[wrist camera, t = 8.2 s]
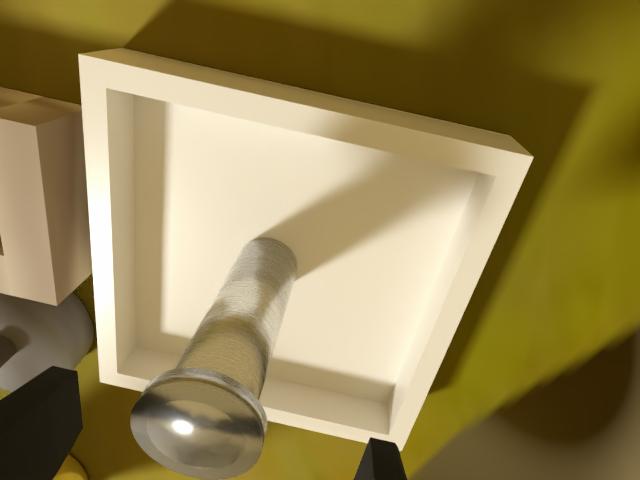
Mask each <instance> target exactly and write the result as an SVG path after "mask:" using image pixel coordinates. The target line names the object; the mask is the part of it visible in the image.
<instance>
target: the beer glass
mask: <svg viewBox="0 0 640 480" xmlns="http://www.w3.org/2000/svg"><path fill="white" fill-rule="evenodd" d="M53 480H88V477H87V474H86V472H85V470H84V468H83V467H82V466H81V464H80V463H79V462H78V461H77V460H76V459H75V458H74V457H72V456H71V455H70V454H68V455H67V457H66V459H65V461H64V462H63V464H62V466H61V468H60V469H59V471H58V472H57V474H56V475H55V477H54V478H53Z"/></svg>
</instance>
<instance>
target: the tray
mask: <svg viewBox="0 0 640 480" xmlns="http://www.w3.org/2000/svg"><path fill="white" fill-rule="evenodd" d="M78 58H79V73H80V88H81V103H82V119H83V134H84V149H85V164H86V179H87V194H88V209H89V224H90V239H91V254H92V270H93V285H94V300H95V315H96V330H97V345H98V360H99V375H100V382H102V383H106V384H110V385H115V386H119V387H123V388H128V389H132V390H137V391H141V392H143V391H144V389H145V388H146V386H147V385H148V384H149V382H150V381H151V380H152V379H154V378H155V377H156V376H158V375H160V374H161V373H164V372H166V371H169V370H173V369H175V368H176V366H177V364H178V363H179V361H180V359H181V357H182V355H183V354H184V352H185V350H186V348H187V346H188V345H189V343H190V341H191V339H192V337H193V336H194V334H195V332H196V330H197V328H198V327H199V325H200V323H201V321H202V319H203V318H204V316H205V314H206V312H207V310H208V309H209V307H210V305H211V303H212V301H213V300H214V298H215V296H216V294H217V292H218V291H219V289H220V287H221V285H222V283H223V282H224V280H225V278H226V276H227V274H228V273H229V271H230V269H231V267H232V265H233V264H234V262H235V260H236V258H237V256H238V255H239V253H240V251H241V249H242V248H243V246H244V245H245V244H247V243H248V242H249V241H251V240H254V239H257V238H272V239H276V240H278V241H280V242H282V243H284V244H285V245H287V246H288V247H289V248H290V249H291V250H292V252H293V253H294V255H295V257H296V260H297V266H298V268H297V273H296V277H295V280H294V283H293V287H292V290H291V294H290V297H289V300H288V304H287V307H286V311H285V314H284V317H283V321H282V324H281V328H280V331H279V334H278V338H277V341H276V345H275V348H274V351H273V355H272V358H271V361H270V365H269V368H268V372H267V375H266V378H265V382H264V385H263V389H262V392H261V395H260V399H259V402H260V403H261V405H262V406H263V409H264V411H265V413H266V417H267V420H268V421H272V422H276V423H281V424H285V425H289V426H294V427H298V428H303V429H307V430H311V431H316V432H320V433H324V434H329V435H333V436H338V437H342V438H346V439H351V440H355V441H359V442H364V443H368V441H369V439H370V437H372V438H376V439H380V440H385V441H389V442H394V443H396V445H397V446H398V449H399V451H402V449H403V447H404V445H405V443H406V440H407V438H408V436H409V434H410V431H411V429H412V427H413V425H414V423H415V420H416V418H417V416H418V414H419V411H420V409H421V407H422V405H423V402H424V400H425V398H426V396H427V394H428V391H429V389H430V387H431V385H432V382H433V380H434V378H435V376H436V374H437V371H438V369H439V367H440V365H441V362H442V360H443V358H444V356H445V354H446V351H447V349H448V347H449V345H450V342H451V340H452V338H453V336H454V334H455V331H456V329H457V327H458V325H459V322H460V320H461V318H462V316H463V313H464V311H465V309H466V307H467V305H468V302H469V300H470V298H471V296H472V293H473V291H474V289H475V287H476V285H477V282H478V280H479V278H480V276H481V273H482V271H483V269H484V267H485V265H486V262H487V260H488V258H489V256H490V253H491V251H492V249H493V247H494V244H495V242H496V240H497V238H498V236H499V233H500V231H501V229H502V227H503V224H504V222H505V220H506V218H507V216H508V213H509V211H510V209H511V207H512V204H513V202H514V200H515V198H516V196H517V193H518V191H519V189H520V187H521V184H522V182H523V180H524V178H525V175H526V173H527V171H528V169H529V167H530V164H531V162H532V160H533V158H534V157H533V156H532V155H531V154H530V153H529V152H528V151H527V150H526V149H525V148H523V147H522V146H521V145H520V144H519V143H518V142H517V141H516V140H515V139H514V138H512V137H511V136H510V135H506V134H502V133H497V132H493V131H488V130H484V129H480V128H475V127H471V126H466V125H462V124H458V123H453V122H449V121H444V120H440V119H435V118H431V117H427V116H422V115H418V114H413V113H409V112H404V111H400V110H396V109H391V108H387V107H382V106H378V105H373V104H369V103H365V102H360V101H356V100H351V99H347V98H342V97H338V96H334V95H329V94H325V93H320V92H316V91H311V90H307V89H303V88H298V87H294V86H289V85H285V84H280V83H276V82H272V81H267V80H263V79H258V78H254V77H250V76H245V75H241V74H236V73H232V72H227V71H223V70H219V69H214V68H210V67H205V66H201V65H196V64H192V63H188V62H183V61H179V60H174V59H170V58H165V57H161V56H157V55H152V54H148V53H143V52H139V51H134V50H130V49H126V48H116V49H109V50H102V51H95V52H88V53H81V54H78Z"/></svg>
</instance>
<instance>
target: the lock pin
mask: <svg viewBox="0 0 640 480" xmlns="http://www.w3.org/2000/svg"><path fill="white" fill-rule="evenodd" d="M297 268H298V266H297V260H296V257H295V255H294V253H293V252H292V250H291V249H290V248H289V247H288V246H287V245H285V244H284V243H282V242H280V241H278V240H276V239H272V238H257V239H254V240H251V241H249V242H248V243H247V244H245V245H244V246H243V248H242V249H241V251H240V253H239V255H238V256H237V258H236V260H235V262H234V264H233V265H232V267H231V269H230V271H229V273H228V274H227V276H226V278H225V280H224V282H223V283H222V285H221V287H220V289H219V291H218V292H217V294H216V296H215V298H214V300H213V301H212V303H211V305H210V307H209V309H208V310H207V312H206V314H205V316H204V318H203V319H202V321H201V323H200V325H199V327H198V328H197V330H196V332H195V334H194V336H193V337H192V339H191V341H190V343H189V345H188V346H187V348H186V350H185V352H184V354H183V355H182V357H181V359H180V361H179V363H178V364H177V366H176V368H175V369H173V370H169V371H166V372H164V373H161V374H160V375H158V376H156V377H155V378H154V379H152V380H151V381H150V382H149V384H148V385H147V386H146V388H145V389H144V391H143V393H142V394H141V396H140V398H139V399H138V401H137V403H136V404H135V406H134V408H133V410H132V412H131V416H130V425H131V430H132V433H133V436H134V438H135V440H136V441H137V443H138V444H139V446H140V447H141V448H142V449H143V450H144V451H145V452H146V453H147V454H148V455H149V456H150V457H151V458H152V459H154V460H155V461H156V462H158V463H159V464H161V465H163V466H164V467H166V468H168V469H170V470H173V471H175V472H177V473H180V474H183V475H186V476H190V477H194V478H199V479H208V480H218V479H227V478H232V477H235V476H238V475H241V474H243V473H245V472H247V471H248V470H250V469H251V468H252V467H253V466H254V465H255V464H256V463H257V461H258V459H259V457H260V455H261V451H262V447H263V443H264V440H265V436H266V432H267V417H266V413H265V411H264V409H263V406H262V405H261V403H260V402H259V399H260V395H261V392H262V389H263V385H264V382H265V378H266V375H267V372H268V368H269V365H270V361H271V358H272V355H273V351H274V348H275V345H276V341H277V338H278V334H279V331H280V328H281V324H282V321H283V317H284V314H285V311H286V307H287V304H288V300H289V297H290V294H291V290H292V287H293V283H294V280H295V277H296V273H297Z"/></svg>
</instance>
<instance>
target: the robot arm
mask: <svg viewBox="0 0 640 480" xmlns="http://www.w3.org/2000/svg"><path fill="white" fill-rule="evenodd" d="M82 428H83V425H82V415H81V405H80V394H79V384H78V374H77V371H74V370H70V369H65V368H61V367H56V366H51V367H49V368H48V369H46V370H45V371H43V372H42V373H40V374H39V375H37V376H36V377H34V378H33V379H31V380H30V381H28V382H27V383H25V384H24V385H22V386H21V387H19V388H18V389H16V390H15V391H13V392H12V393H10V394H9V395H8V396H6V397H5V398H3V399H2V400H0V480H53V478H54V477H55V475H56V474H57V472H58V471H59V469H60V468H61V466H62V464H63V462H64V461H65V459H66V457H67V455H68V454H69V452H70V450H71V448H72V446H73V445H74V443H75V441H76V439H77V437H78V435H79V433H80V432H81V430H82ZM354 480H407V477H406V474H405V471H404V467H403V464H402V460H401V457H400V453H399V449H398V446H397V445H396V443H394V442H389V441H385V440H380V439H376V438H372V437H370V439H369V441H368V444H367V447H366V449H365V452H364V454H363V457H362V460H361V462H360V465H359V467H358V470H357V473H356V475H355V478H354Z"/></svg>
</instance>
